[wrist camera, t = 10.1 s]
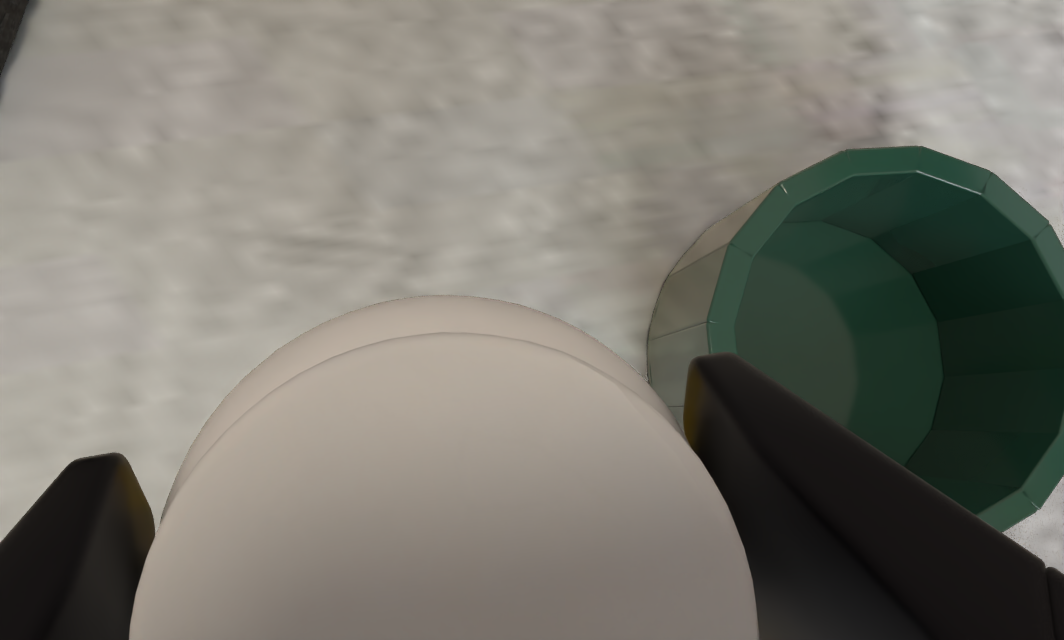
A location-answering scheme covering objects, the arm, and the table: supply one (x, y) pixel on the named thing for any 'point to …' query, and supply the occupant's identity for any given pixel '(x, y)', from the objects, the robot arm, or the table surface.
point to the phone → (9, 25)
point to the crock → (891, 317)
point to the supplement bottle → (444, 494)
